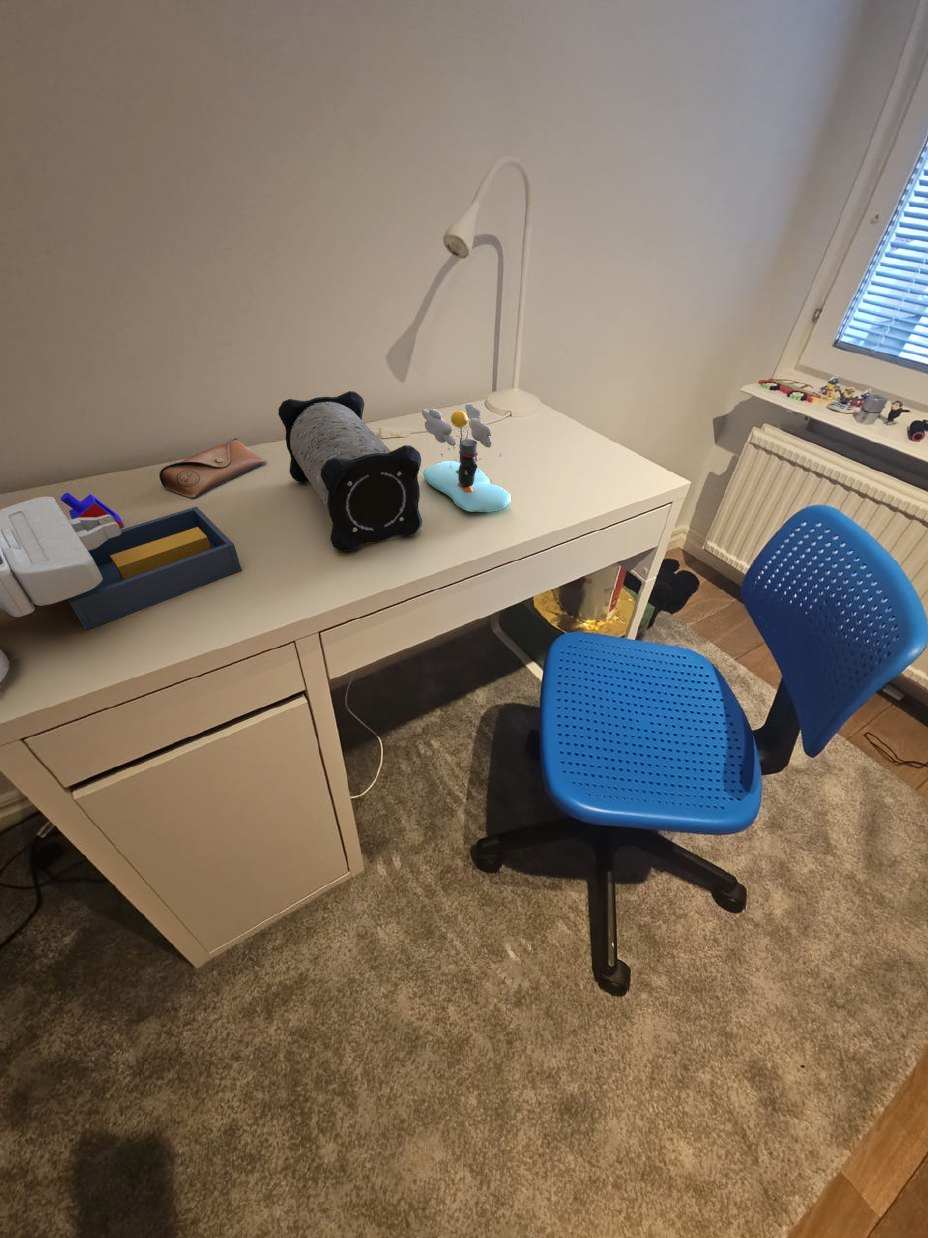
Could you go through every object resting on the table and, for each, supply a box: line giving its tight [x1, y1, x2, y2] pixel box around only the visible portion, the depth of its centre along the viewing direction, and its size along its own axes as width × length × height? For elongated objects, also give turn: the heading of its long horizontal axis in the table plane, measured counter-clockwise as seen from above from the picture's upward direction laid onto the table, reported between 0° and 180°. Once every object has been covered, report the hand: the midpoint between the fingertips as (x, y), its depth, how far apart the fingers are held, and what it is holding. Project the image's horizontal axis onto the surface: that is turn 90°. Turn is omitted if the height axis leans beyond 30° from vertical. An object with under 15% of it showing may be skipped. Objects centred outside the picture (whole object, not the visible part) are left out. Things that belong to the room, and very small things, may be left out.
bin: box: [67, 506, 242, 631], centre depth 76 cm, size 21×14×5 cm, turn 132°
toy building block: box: [59, 492, 124, 529], centre depth 84 cm, size 4×4×8 cm
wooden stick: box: [110, 527, 211, 580], centre depth 77 cm, size 4×4×12 cm
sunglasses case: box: [158, 437, 268, 499], centre depth 100 cm, size 18×7×7 cm
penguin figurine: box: [421, 403, 512, 513], centre depth 94 cm, size 20×11×15 cm, turn 30°
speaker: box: [277, 390, 423, 552], centre depth 89 cm, size 15×29×15 cm, turn 28°
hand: (116, 523), depth 71 cm, fingers closed
